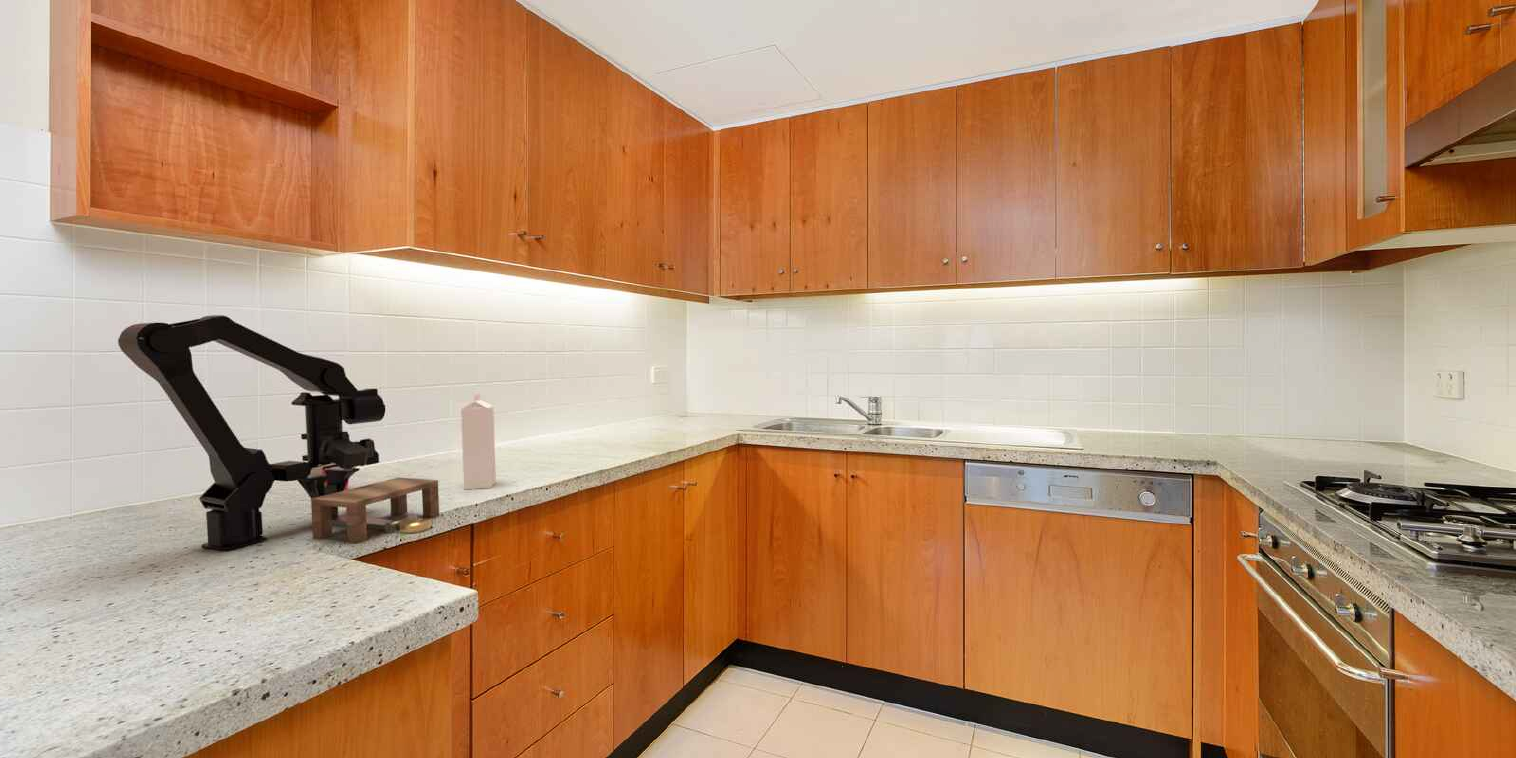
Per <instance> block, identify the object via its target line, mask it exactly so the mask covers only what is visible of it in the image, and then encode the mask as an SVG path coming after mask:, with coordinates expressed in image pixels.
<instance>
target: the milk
mask: <svg viewBox="0 0 1516 758" xmlns="http://www.w3.org/2000/svg"><path fill="white" fill-rule="evenodd" d="M473 399H474V400H473V401H472V402H471V403H469V404H467V405H466V406H464V407H461V409H460V413H461V414H460V416H461V441H462V442H461V443H462V445H461V446H462V462H463V463H462V469H463V472H462V473H463V489H464V490H480V489H481V488H482V489H492V488H493V486H494V485H495V484H496V483H497V477H496V476H497V473H496V450H495V445H496V443H495V421H494V420H495V419H494V416H495V415H494V406H493V404H490V403H488V402H486V401H485V400H482V399H481V394H480V393H476V394H474V395H473Z"/></svg>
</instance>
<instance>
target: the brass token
mask: <svg viewBox="0 0 1516 758" xmlns="http://www.w3.org/2000/svg"><path fill="white" fill-rule="evenodd" d="M431 525H432V524H431V518H426V517H423V518H422V517H421V518H419V517H418V519H411V520H407V521H403V522H401V523H400V524H399V530H398V531H399V533H400V534H403V535H412V534H418V533H424V532H427V531H429V530H430V529H432V528H431V527H432V526H431Z"/></svg>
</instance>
